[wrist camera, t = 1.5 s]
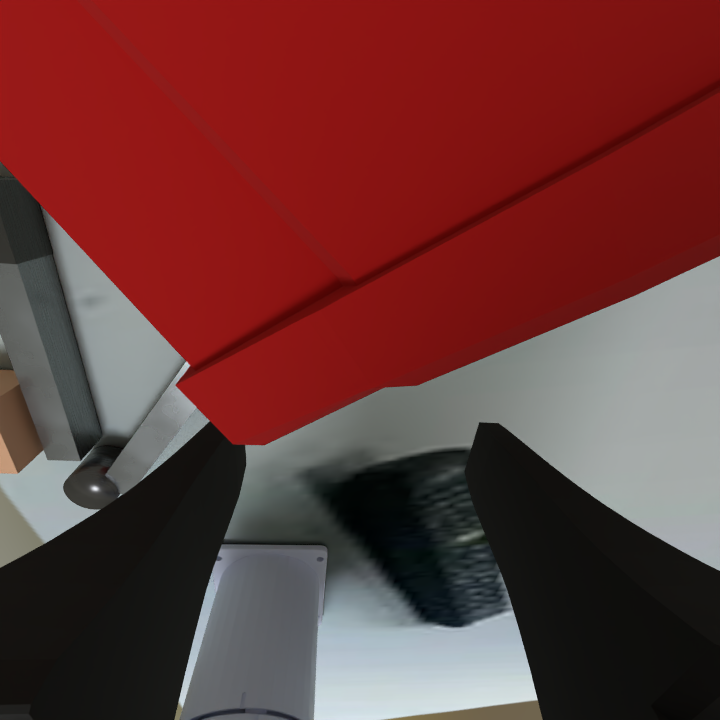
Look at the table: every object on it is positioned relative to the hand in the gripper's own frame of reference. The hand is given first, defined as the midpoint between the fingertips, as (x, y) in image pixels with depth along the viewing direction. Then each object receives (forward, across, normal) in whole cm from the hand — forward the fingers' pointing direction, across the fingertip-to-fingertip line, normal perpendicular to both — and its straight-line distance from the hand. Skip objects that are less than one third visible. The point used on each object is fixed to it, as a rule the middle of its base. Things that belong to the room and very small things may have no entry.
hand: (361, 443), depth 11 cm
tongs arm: (+8, +9, +4) cm, 13 cm away
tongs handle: (+8, +15, +1) cm, 17 cm away
